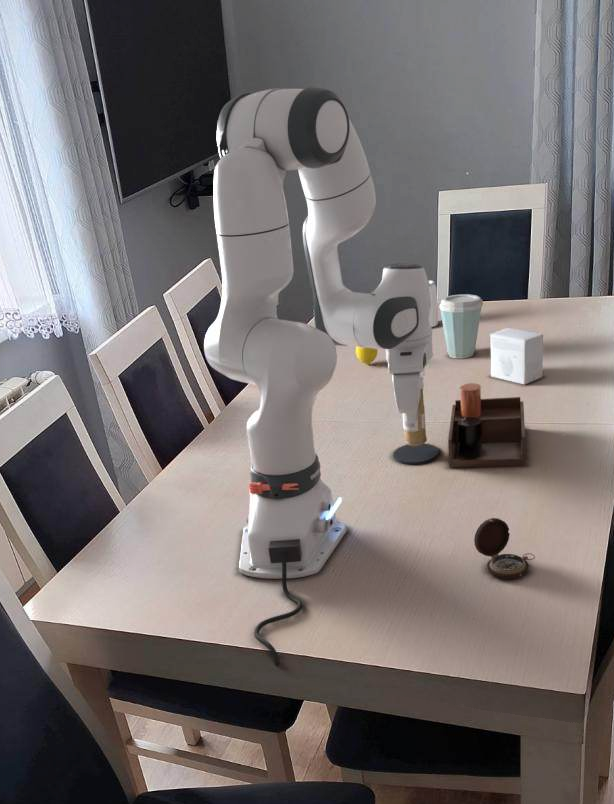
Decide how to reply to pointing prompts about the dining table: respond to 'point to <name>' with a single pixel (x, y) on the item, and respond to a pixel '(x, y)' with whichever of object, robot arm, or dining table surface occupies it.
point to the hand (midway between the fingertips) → (413, 416)
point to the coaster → (415, 454)
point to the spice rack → (492, 430)
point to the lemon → (366, 354)
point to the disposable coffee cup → (461, 323)
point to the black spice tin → (470, 437)
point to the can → (433, 304)
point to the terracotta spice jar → (470, 400)
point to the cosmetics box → (516, 355)
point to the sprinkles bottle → (416, 424)
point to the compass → (499, 550)
